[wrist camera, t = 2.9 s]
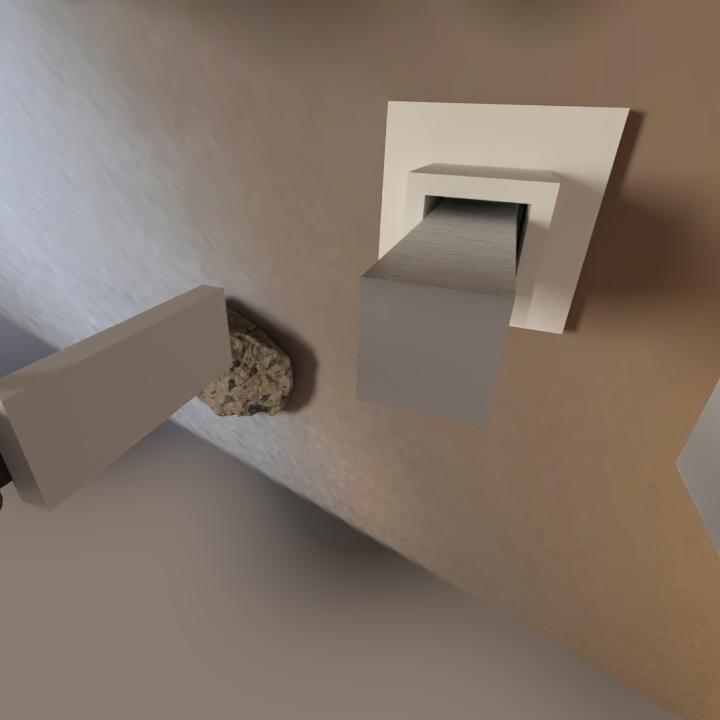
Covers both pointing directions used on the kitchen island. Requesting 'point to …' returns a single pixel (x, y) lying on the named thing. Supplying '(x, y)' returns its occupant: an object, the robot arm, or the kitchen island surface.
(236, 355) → the rock
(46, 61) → the kitchen island surface
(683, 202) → the kitchen island surface
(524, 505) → the kitchen island surface
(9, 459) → the robot arm
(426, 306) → the column
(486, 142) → the stand
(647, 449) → the kitchen island surface
